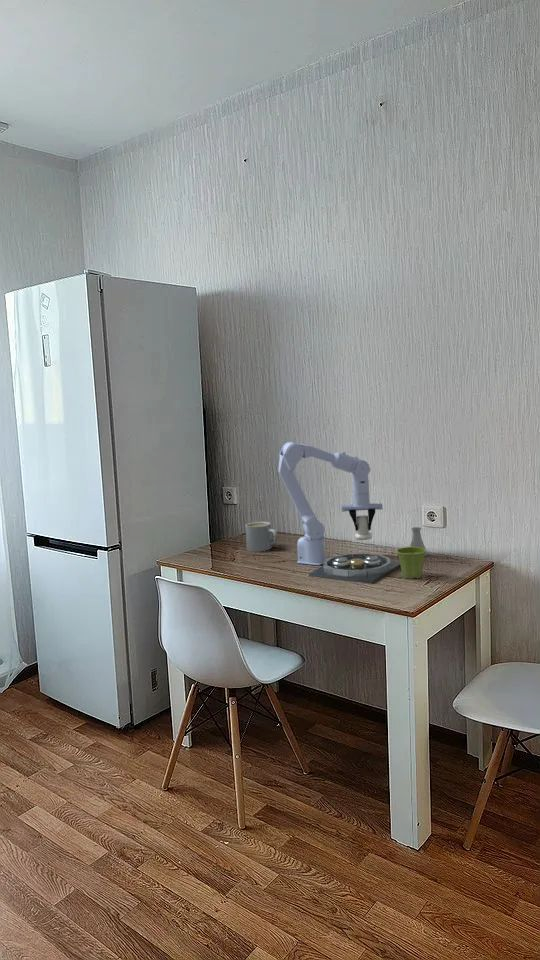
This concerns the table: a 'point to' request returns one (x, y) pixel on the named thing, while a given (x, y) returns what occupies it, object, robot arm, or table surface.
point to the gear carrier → (356, 567)
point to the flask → (417, 539)
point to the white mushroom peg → (363, 528)
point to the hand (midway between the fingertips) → (363, 530)
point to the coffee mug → (259, 536)
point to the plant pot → (411, 561)
